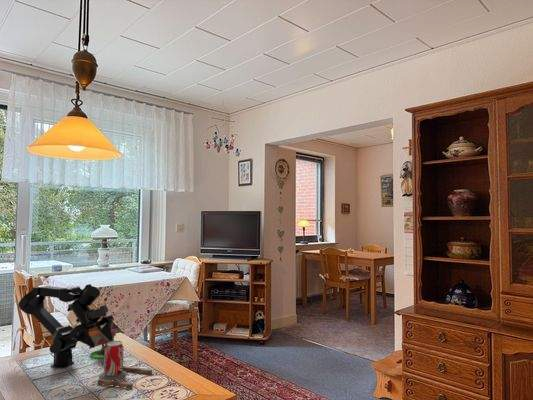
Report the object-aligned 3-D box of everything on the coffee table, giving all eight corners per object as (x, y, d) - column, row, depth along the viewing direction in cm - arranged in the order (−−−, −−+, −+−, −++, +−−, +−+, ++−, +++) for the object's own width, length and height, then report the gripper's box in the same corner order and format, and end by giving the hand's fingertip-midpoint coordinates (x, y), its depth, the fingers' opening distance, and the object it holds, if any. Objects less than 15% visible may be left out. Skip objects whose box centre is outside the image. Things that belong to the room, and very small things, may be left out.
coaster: (93, 379, 145) (93, 378, 145) (110, 369, 155) (110, 368, 155) (115, 382, 143) (116, 381, 143) (131, 372, 152) (131, 371, 152)
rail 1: (97, 384, 141) (97, 380, 141) (99, 382, 142) (100, 378, 142) (130, 388, 138) (130, 384, 138) (132, 387, 139) (132, 383, 139)
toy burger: (123, 353, 173) (124, 320, 173) (96, 361, 163) (97, 326, 164) (111, 347, 180) (112, 315, 181) (84, 354, 171) (85, 320, 171)
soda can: (116, 378, 145) (117, 346, 146) (99, 376, 147) (100, 345, 147) (126, 371, 152) (127, 341, 153) (110, 369, 154) (111, 339, 154)
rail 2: (119, 370, 154) (119, 366, 154) (121, 369, 155) (121, 365, 155) (150, 374, 150) (150, 370, 150) (152, 373, 151) (152, 369, 152)
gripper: (76, 304, 145) (97, 338, 141) (111, 295, 162) (131, 324, 158) (59, 323, 147) (80, 356, 143) (96, 312, 165) (115, 341, 161)
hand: (103, 343), depth 151 cm, fingers open, 9 cm apart
